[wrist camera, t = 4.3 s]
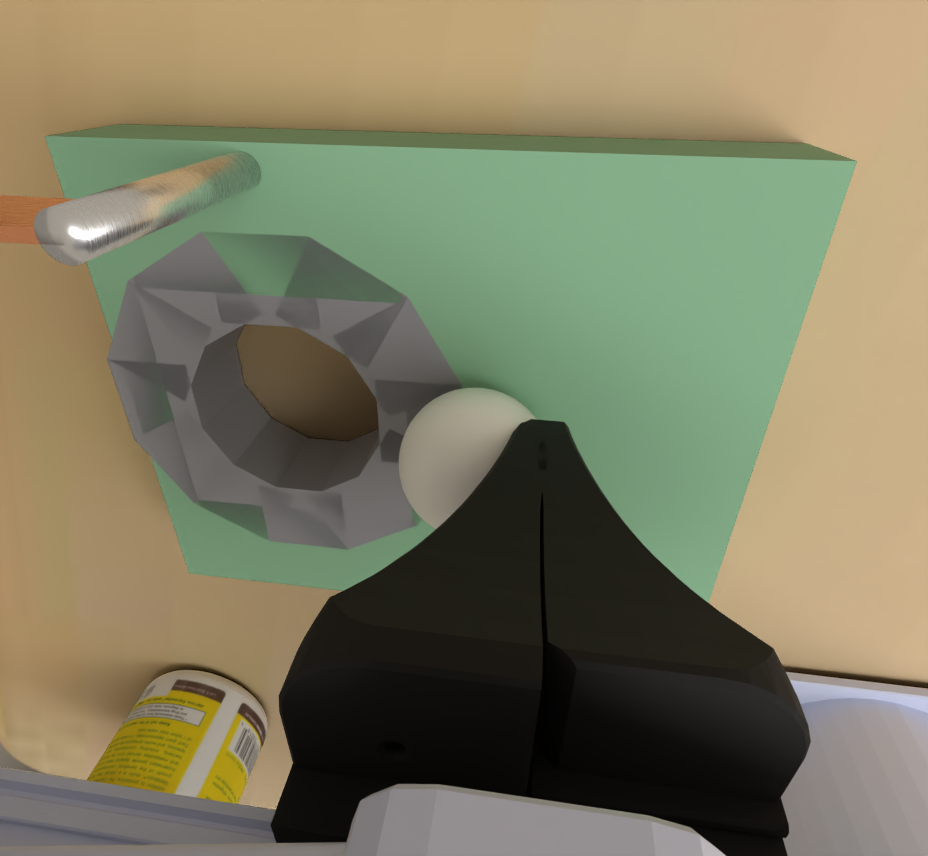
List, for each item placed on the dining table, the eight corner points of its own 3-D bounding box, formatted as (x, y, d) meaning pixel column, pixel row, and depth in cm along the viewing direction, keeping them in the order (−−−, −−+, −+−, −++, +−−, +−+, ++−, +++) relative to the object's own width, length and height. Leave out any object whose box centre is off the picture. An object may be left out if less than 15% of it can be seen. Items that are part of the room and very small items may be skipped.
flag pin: (257, 151, 11) (79, 209, 7) (263, 190, 12) (96, 266, 7) (123, 146, 12) (-127, 199, 7) (133, 185, 12) (-98, 256, 8)
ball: (423, 462, 10) (383, 367, 12) (418, 587, 12) (384, 483, 14) (592, 436, 11) (524, 353, 13) (562, 556, 13) (507, 463, 15)
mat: (806, 143, 12) (857, 160, 10) (683, 568, 18) (698, 630, 16) (108, 123, 14) (30, 135, 12) (217, 520, 20) (179, 572, 18)
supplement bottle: (128, 688, 27) (-77, 991, 18) (196, 646, 24) (-3, 972, 16) (226, 751, 28) (82, 1053, 20) (298, 717, 26) (170, 1045, 17)
